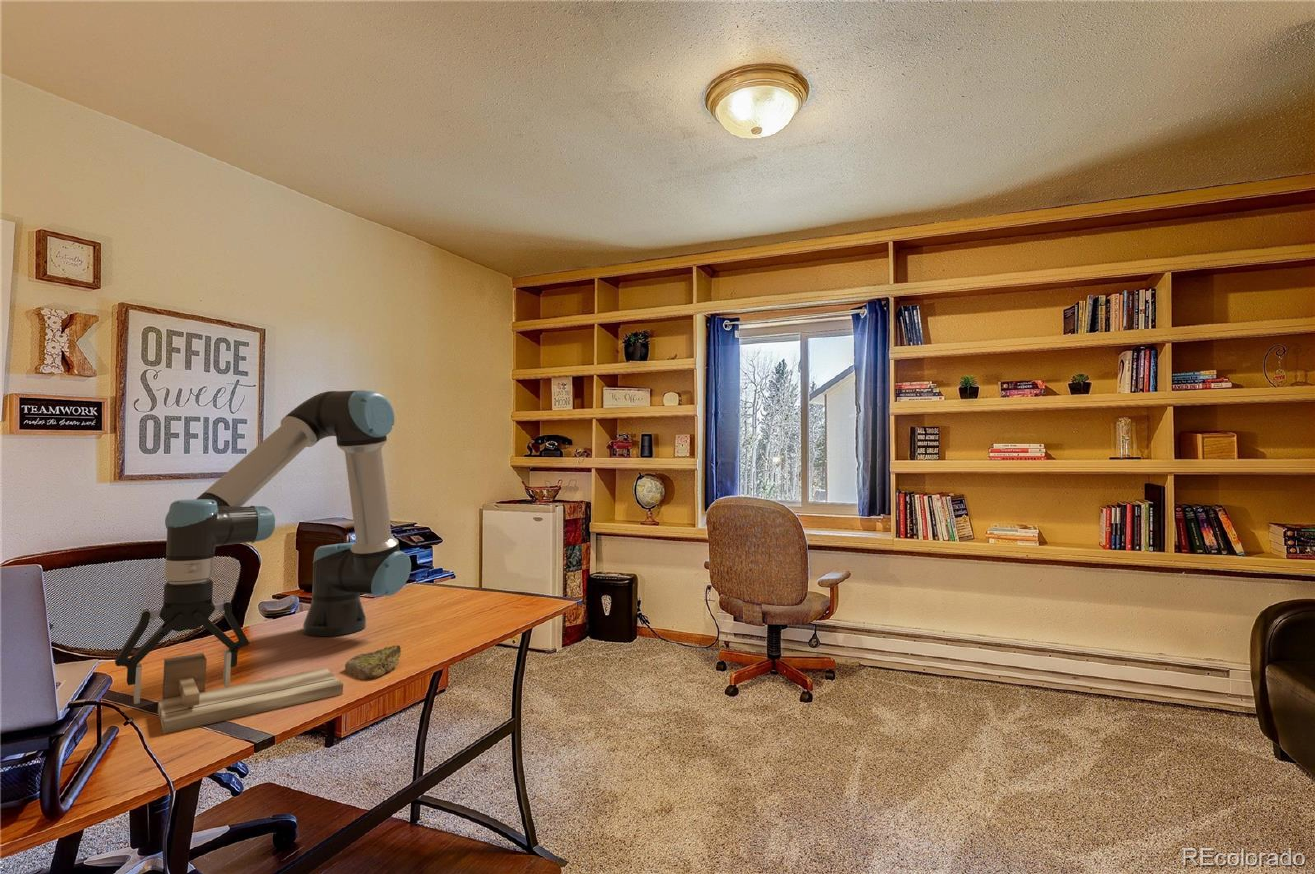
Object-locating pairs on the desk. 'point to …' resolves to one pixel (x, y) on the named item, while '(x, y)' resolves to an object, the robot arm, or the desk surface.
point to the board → (248, 699)
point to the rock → (374, 662)
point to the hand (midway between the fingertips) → (183, 693)
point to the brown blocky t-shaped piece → (185, 678)
